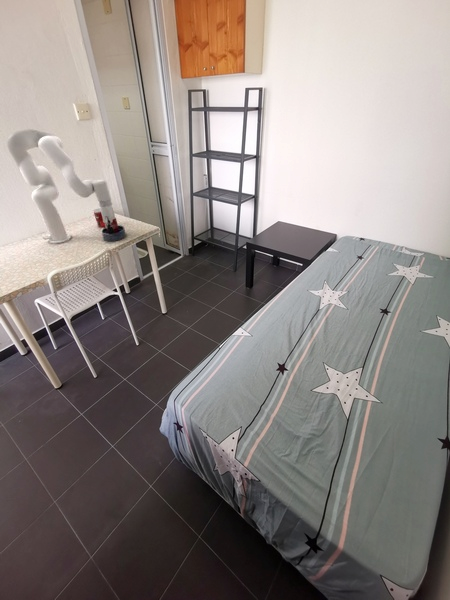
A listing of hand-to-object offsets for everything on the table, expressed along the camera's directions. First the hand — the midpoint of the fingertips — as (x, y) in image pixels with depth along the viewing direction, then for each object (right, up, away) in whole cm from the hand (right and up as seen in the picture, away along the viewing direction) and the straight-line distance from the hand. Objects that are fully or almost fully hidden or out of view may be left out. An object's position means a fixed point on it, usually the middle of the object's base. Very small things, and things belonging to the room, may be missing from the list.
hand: (113, 230), depth 178 cm
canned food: (-14, +8, +19) cm, 25 cm away
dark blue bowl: (0, -4, +3) cm, 5 cm away
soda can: (0, -4, +3) cm, 5 cm away
